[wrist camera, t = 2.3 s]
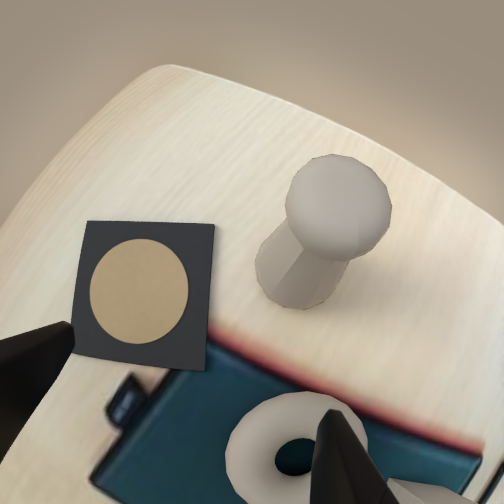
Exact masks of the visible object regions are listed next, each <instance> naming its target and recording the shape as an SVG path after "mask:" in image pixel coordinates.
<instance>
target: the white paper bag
mask: <svg viewBox="0 0 504 504" xmlns="http://www.w3.org/2000/svg"><path fill="white" fill-rule="evenodd" d="M387 485H388V487H389V488H390V489H391V491H392V492H393V494H394V496H395V497H396V498H397V500H398V501H399V503H400V504H477V503H475V502H473V501H471V500H469V499H466V498H464V497H462V496H460V495H458V494H456V493H455V492H453V491H451V490H449V489H447V488H445V487H443V486H437V485H429V484H422V483H416V482H410V481H404V480H399V479H393V478H389V479H388V481H387Z"/></svg>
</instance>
